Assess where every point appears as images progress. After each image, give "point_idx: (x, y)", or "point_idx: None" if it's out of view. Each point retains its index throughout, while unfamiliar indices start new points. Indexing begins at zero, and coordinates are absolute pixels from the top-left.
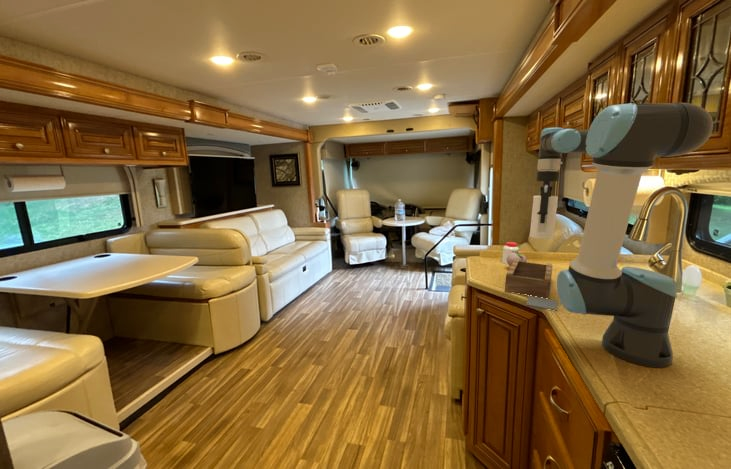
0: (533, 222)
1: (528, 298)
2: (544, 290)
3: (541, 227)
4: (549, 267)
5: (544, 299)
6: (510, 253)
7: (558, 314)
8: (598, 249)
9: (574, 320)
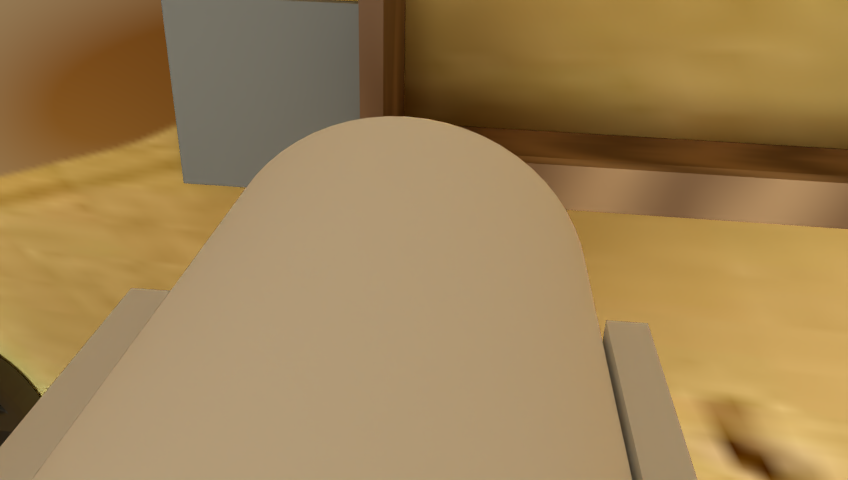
0: (175, 299)
1: (289, 5)
2: None
3: None
4: (811, 207)
5: (334, 115)
6: None
7: (148, 183)
8: None
9: (118, 253)
